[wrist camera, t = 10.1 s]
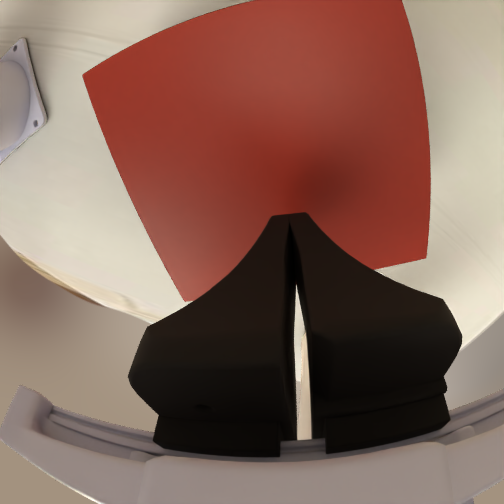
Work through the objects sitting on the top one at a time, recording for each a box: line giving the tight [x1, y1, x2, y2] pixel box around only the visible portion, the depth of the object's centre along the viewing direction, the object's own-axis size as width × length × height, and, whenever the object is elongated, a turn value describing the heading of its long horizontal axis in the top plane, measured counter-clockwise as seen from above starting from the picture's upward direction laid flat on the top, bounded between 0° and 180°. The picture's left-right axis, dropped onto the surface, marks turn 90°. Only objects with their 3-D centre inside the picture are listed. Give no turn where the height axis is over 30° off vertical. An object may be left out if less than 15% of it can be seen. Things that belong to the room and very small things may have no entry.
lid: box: [82, 0, 431, 302], centre depth 10 cm, size 12×13×1 cm
